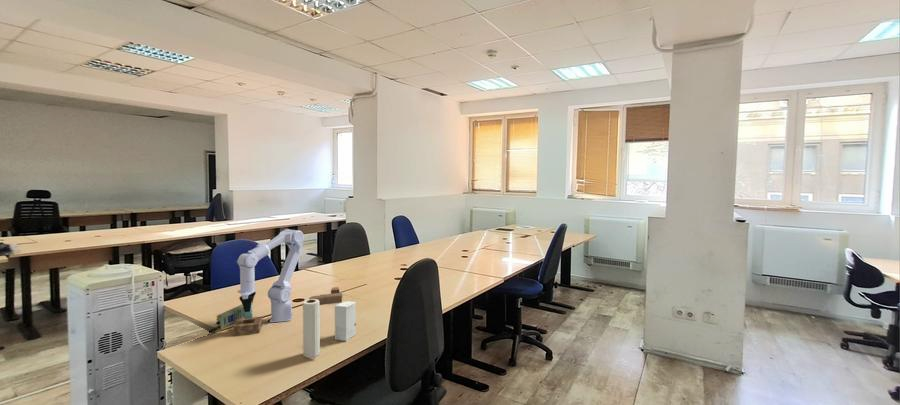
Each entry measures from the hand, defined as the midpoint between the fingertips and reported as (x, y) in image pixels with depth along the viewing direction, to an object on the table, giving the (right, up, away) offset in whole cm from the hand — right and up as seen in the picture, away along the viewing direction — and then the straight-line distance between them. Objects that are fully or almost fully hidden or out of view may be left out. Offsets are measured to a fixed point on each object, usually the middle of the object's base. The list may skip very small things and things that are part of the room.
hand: (248, 310), depth 175 cm
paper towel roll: (+37, -11, -23) cm, 45 cm away
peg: (0, -3, 0) cm, 3 cm away
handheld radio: (-12, -9, +8) cm, 17 cm away
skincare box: (+45, -10, -5) cm, 47 cm away
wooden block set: (+20, -7, +46) cm, 51 cm away
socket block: (0, -9, +1) cm, 9 cm away
